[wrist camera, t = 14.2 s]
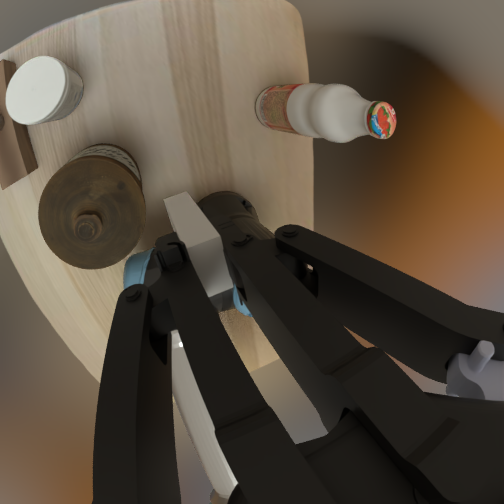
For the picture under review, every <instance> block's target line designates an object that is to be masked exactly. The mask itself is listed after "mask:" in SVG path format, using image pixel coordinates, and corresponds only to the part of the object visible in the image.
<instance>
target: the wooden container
mask: <svg viewBox="0 0 504 504" xmlns="http://www.w3.org/2000/svg"><path fill="white" fill-rule="evenodd" d="M38 217H39V225H40V229H41V233H42V235H43V238H44V240H45V242H46V243H47V245H48V247H49V248H50V249H51V250H52V252H53V253H54V254H55V255H56V256H58V257H59V258H60V259H61V260H63V261H64V262H66V263H68V264H70V265H72V266H74V267H78V268H82V269H101V268H106V267H109V266H111V265H114V264H116V263H117V262H119V261H121V260H122V259H123V258H125V257H126V256H127V255H128V254H129V253H130V252H131V251H132V250H133V249H134V247H135V246H136V244H137V243H138V241H139V239H140V237H141V235H142V232H143V229H144V225H145V218H146V208H145V200H144V195H143V192H142V181H141V176H140V171H139V168H138V166H137V163H136V161H135V160H134V158H133V157H132V156H131V155H130V154H129V153H128V152H127V151H126V150H125V149H123V148H121V147H119V146H116V145H113V144H96V145H93V146H90V147H88V148H86V149H84V150H83V151H81V152H80V153H78V154H77V155H75V156H74V157H73V158H72V159H71V160H69V161H68V162H67V163H66V164H65V165H64V166H63V167H62V168H61V169H59V170H58V171H57V172H56V173H55V174H54V175H53V176H52V178H51V179H50V180H49V182H48V183H47V185H46V186H45V188H44V190H43V193H42V195H41V198H40V203H39V211H38Z"/></svg>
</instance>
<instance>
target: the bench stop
mask: <svg viewBox="0 0 504 504" xmlns="http://www.w3.org/2000/svg"><path fill="white" fill-rule="evenodd" d="M15 72H16V64H15V63H13V62H10V61H7V60H4V59H3V60H1V61H0V184H1V187H2V190H4V189H5V188H7V187H8V186H10V185H12V184H13V183H15V182H16V181H18V180H20V179H21V178H23V177H25V176H27V175H28V174H30V173H31V172H32V171H34V170H35V169H37V168H38V165H37V162H36V159H35V156H34V152H33V149H32V145H31V142H30V138H29V134H28V131H27V127H26V124H21V123H18V122H16V121H15V120H13V119H12V118H11V116H10V115H9V113H8V111H7V108H6V91H7V88H8V85H9V82H10V80H11V78H12V77H13V75H14V74H15Z"/></svg>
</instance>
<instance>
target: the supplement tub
mask: <svg viewBox="0 0 504 504" xmlns="http://www.w3.org/2000/svg"><path fill="white" fill-rule="evenodd" d="M82 94H83V82H82V79H81V77H80V76H79V74H78V73H77V72H75V71H74V70H73V69H71V68H70V67H69V66H67V65H66V64H64V63H63V62H62V61H60V60H59V59H57V58H54V57H51V56H38V57H35V58H32V59H30V60H29V61H27V62H26V63H24V64H23V65H22V66H21V67H20V68H19V69H18V70H17V71H16V72H15V74H14V75H13V77H12V78H11V80H10V82H9V85H8V88H7V91H6V108H7V111H8V113H9V115H10V116H11V118H12V119H13V120H15V121H16V122H18V123H21V124H27V125H33V124H39V123H44V122H49V121H54V120H59V119H62V118H64V117H66V116H68V115H69V114H70V113H72V112H73V111H74V109H75V108H76V107H77V106H78V104H79V102H80V100H81V97H82Z"/></svg>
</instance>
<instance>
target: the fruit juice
mask: <svg viewBox="0 0 504 504" xmlns="http://www.w3.org/2000/svg"><path fill="white" fill-rule="evenodd" d="M256 114H257V117H258V119H259V120H260V122H261V123H262V124H263V125H265V126H266V127H268V128H270V129H273V130H278V131H283V132H288V133H293V134H298V135H303V136H307V137H313V138H325V139H327V140H329V141H332V142H338V143H344V142H349V141H351V140H353V139H355V138H356V137H358V136H363V135H368V134H370V135H371V136H374V137H376V138H380V139H386V138H388V137H390V136H391V135H392V133H393V132H394V129H395V126H396V116H395V112H394V109H393V108H392V106H391V105H389V104H388V103H386V102H382V101H374V102H370V101H368V100H365V99H363V98H362V97H361V96H360V95H359V94H358V93H357V92H356V91H355V90H354V89H352V88H351V87H348V86H346V85H342V84H329V85H326V86H325V85H322V84H314V83H308V84H293V85H281V86H272V87H269V88H267V89H265V90H264V91H263V92H262V93H261V94H260V95H259V97H258V98H257V101H256Z"/></svg>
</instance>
